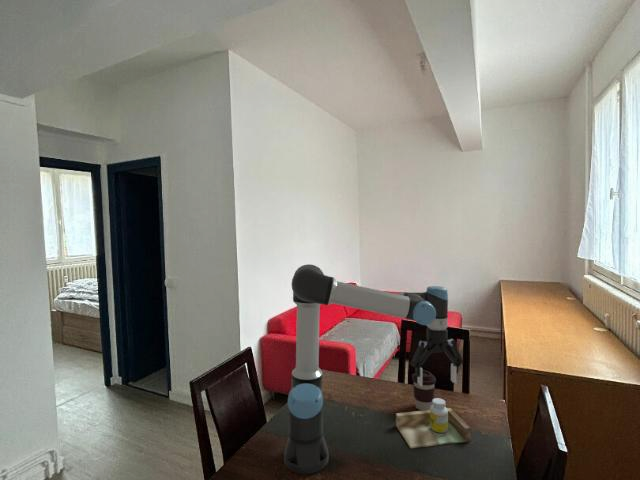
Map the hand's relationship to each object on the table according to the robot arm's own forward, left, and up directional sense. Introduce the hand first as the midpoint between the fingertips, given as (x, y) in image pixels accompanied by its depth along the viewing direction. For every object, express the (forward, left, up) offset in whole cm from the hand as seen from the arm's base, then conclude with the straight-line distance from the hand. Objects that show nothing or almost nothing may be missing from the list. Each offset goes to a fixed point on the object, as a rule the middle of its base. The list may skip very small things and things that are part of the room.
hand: (436, 383), depth 129 cm
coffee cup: (+3, +18, -19) cm, 26 cm away
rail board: (-3, 0, -19) cm, 19 cm away
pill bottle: (+1, 0, -19) cm, 19 cm away
